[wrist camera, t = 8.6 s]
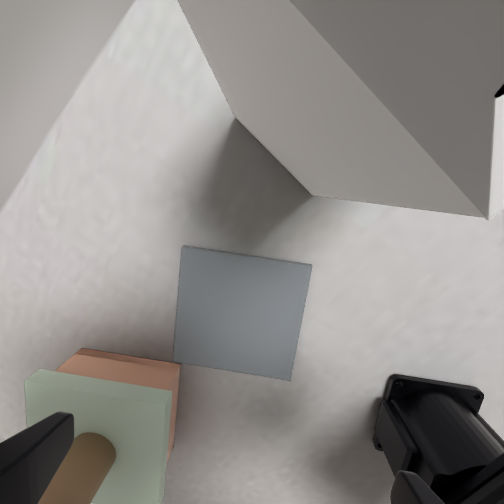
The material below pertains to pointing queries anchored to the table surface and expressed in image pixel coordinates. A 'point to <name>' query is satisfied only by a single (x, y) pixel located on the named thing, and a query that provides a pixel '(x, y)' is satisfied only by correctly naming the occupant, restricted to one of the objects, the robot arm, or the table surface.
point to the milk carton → (369, 94)
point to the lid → (104, 438)
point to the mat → (239, 312)
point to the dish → (128, 375)
